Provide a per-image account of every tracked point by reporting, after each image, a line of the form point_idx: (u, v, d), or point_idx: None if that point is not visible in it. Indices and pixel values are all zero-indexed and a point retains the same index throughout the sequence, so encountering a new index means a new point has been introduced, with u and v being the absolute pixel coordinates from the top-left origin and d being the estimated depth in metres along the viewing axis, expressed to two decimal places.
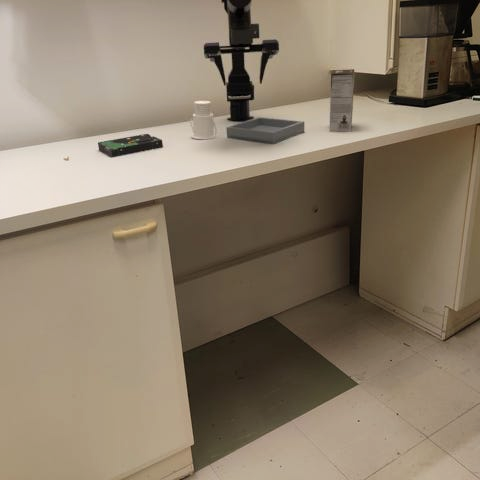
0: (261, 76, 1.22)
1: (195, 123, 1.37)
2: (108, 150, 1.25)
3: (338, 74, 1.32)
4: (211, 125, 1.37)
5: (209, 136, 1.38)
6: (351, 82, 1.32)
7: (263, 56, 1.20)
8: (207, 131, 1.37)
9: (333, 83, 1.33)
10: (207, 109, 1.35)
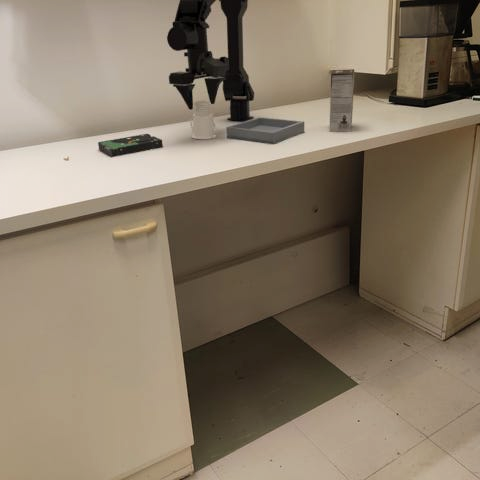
0: (214, 98, 1.39)
1: (195, 123, 1.37)
2: (108, 150, 1.25)
3: (338, 74, 1.32)
4: (211, 125, 1.37)
5: (209, 136, 1.38)
6: (351, 82, 1.32)
7: (219, 81, 1.36)
8: (207, 131, 1.37)
9: (333, 83, 1.33)
10: (207, 109, 1.35)
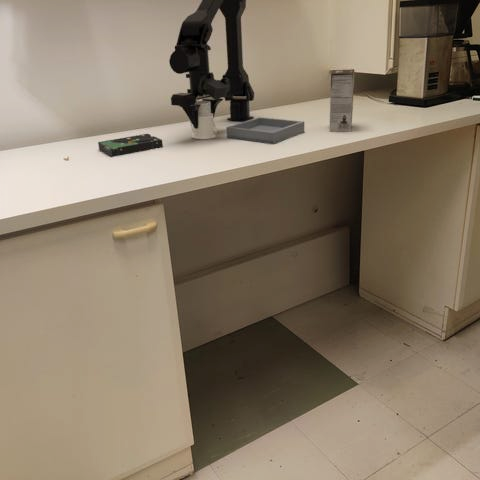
0: None
1: None
2: (108, 150, 1.25)
3: (338, 74, 1.32)
4: (211, 125, 1.37)
5: (209, 136, 1.38)
6: (351, 82, 1.32)
7: (216, 102, 1.38)
8: (207, 131, 1.37)
9: (333, 83, 1.33)
10: (207, 109, 1.35)
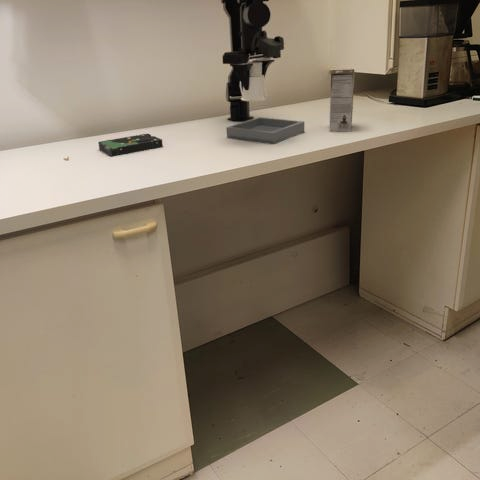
0: None
1: None
2: (108, 149, 1.25)
3: (338, 74, 1.32)
4: (262, 87, 1.32)
5: (259, 98, 1.32)
6: (351, 82, 1.32)
7: (268, 63, 1.32)
8: (258, 93, 1.31)
9: (333, 83, 1.33)
10: (258, 69, 1.30)
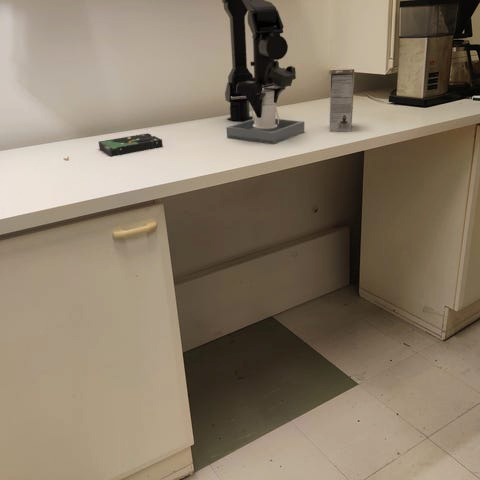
0: None
1: None
2: (108, 149, 1.25)
3: (338, 74, 1.32)
4: (274, 114, 1.35)
5: (272, 126, 1.35)
6: (351, 82, 1.32)
7: (279, 91, 1.35)
8: (270, 120, 1.34)
9: (333, 83, 1.33)
10: (271, 98, 1.33)
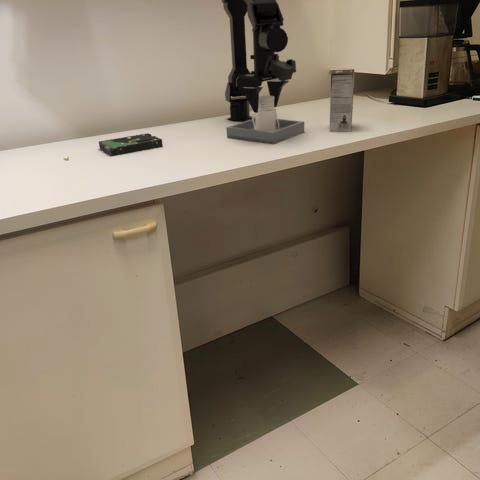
0: (277, 101, 1.38)
1: (258, 118, 1.35)
2: (108, 149, 1.25)
3: (338, 74, 1.32)
4: (274, 120, 1.35)
5: (272, 131, 1.36)
6: (351, 82, 1.32)
7: (282, 84, 1.35)
8: (270, 126, 1.35)
9: (333, 83, 1.33)
10: (271, 104, 1.34)
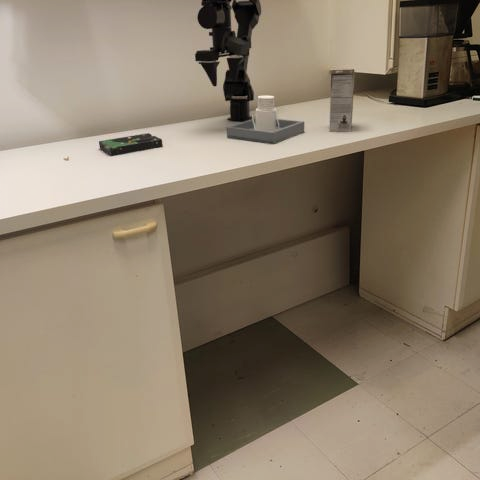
0: (236, 76, 1.47)
1: (258, 118, 1.35)
2: (107, 149, 1.26)
3: (338, 74, 1.32)
4: (274, 120, 1.35)
5: (272, 131, 1.36)
6: (351, 82, 1.32)
7: (240, 60, 1.45)
8: (270, 126, 1.35)
9: (333, 83, 1.33)
10: (271, 104, 1.34)
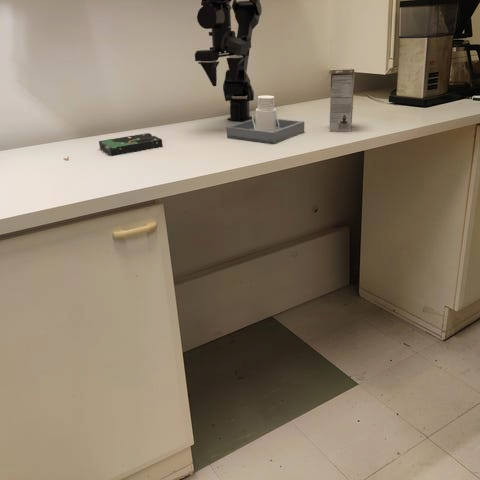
0: (236, 76, 1.47)
1: (258, 118, 1.35)
2: (107, 149, 1.26)
3: (338, 74, 1.32)
4: (274, 120, 1.35)
5: (272, 131, 1.36)
6: (351, 82, 1.32)
7: (240, 60, 1.45)
8: (270, 126, 1.35)
9: (333, 83, 1.33)
10: (271, 104, 1.34)
